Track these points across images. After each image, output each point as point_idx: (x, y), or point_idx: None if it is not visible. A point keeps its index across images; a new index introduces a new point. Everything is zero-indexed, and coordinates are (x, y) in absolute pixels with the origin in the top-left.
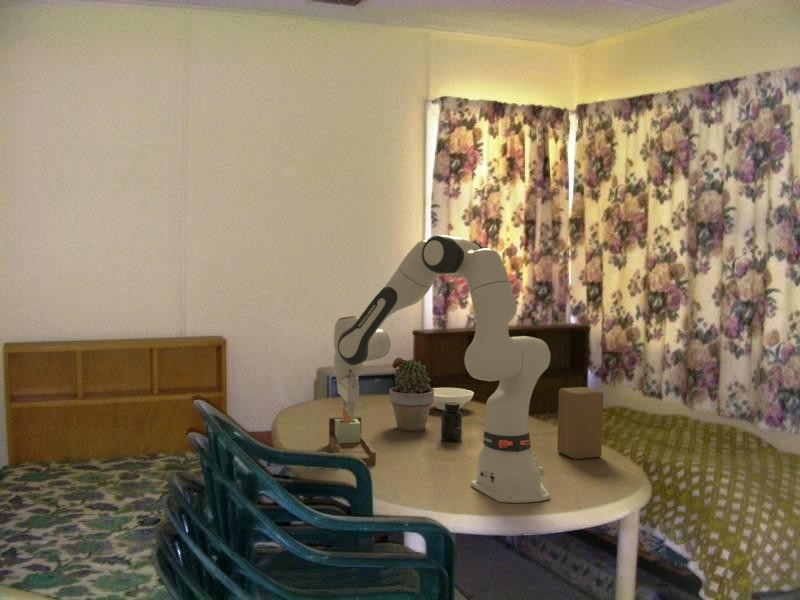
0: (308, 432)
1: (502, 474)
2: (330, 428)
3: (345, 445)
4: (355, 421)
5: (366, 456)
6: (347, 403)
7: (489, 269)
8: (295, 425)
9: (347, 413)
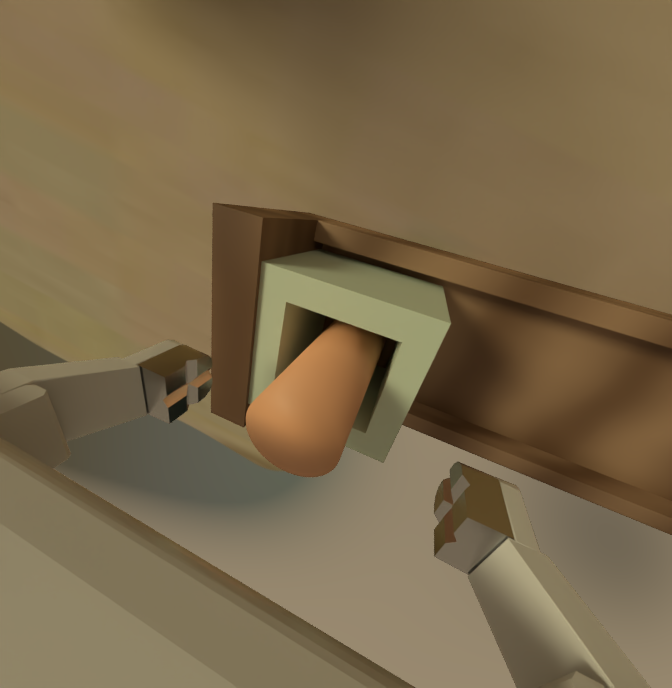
0: (128, 327)
1: None
2: None
3: (434, 369)
4: (359, 325)
5: None
6: (127, 379)
7: None
8: (55, 320)
9: (438, 516)
